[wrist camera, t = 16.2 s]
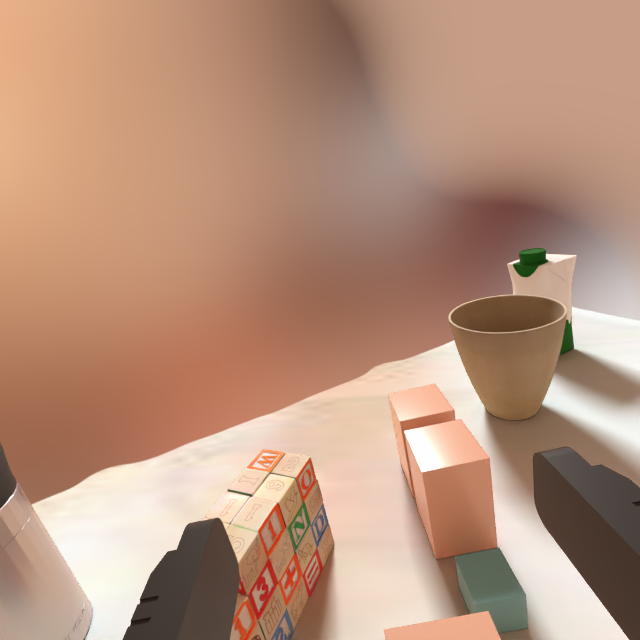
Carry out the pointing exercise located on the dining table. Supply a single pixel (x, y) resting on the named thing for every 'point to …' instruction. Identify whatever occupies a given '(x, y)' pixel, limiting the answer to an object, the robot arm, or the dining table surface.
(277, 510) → the stack of blocks
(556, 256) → the milk carton
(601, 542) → the robot arm
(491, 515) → the salmon rectangular block
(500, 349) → the plant pot
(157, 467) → the dining table surface
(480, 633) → the salmon pink rectangular block
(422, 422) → the peach rectangular block
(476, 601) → the green cube
